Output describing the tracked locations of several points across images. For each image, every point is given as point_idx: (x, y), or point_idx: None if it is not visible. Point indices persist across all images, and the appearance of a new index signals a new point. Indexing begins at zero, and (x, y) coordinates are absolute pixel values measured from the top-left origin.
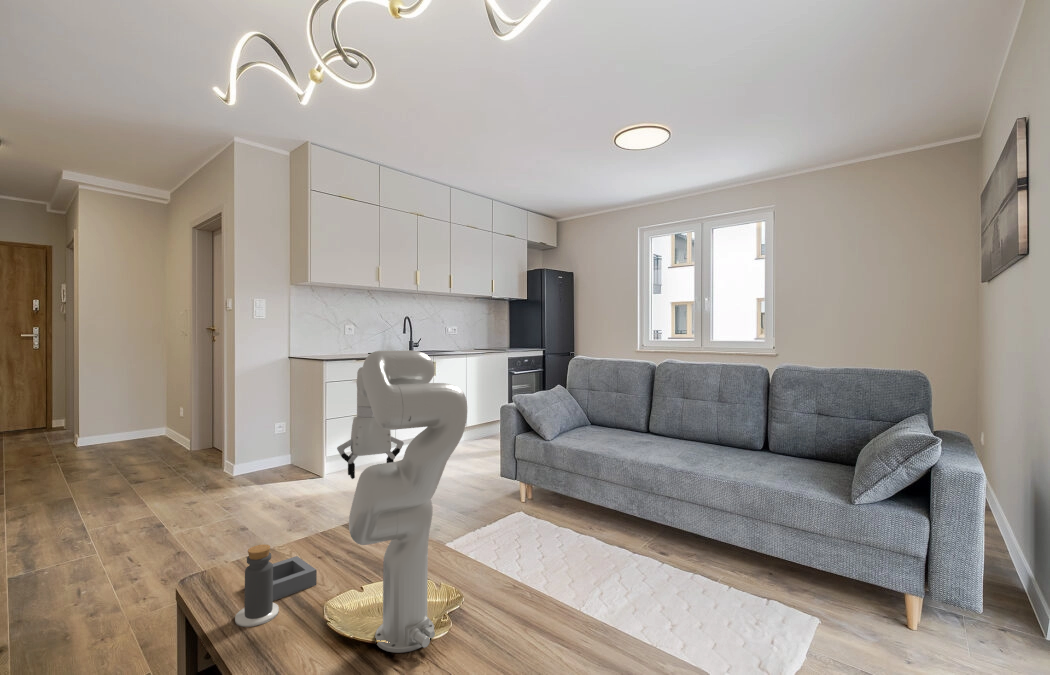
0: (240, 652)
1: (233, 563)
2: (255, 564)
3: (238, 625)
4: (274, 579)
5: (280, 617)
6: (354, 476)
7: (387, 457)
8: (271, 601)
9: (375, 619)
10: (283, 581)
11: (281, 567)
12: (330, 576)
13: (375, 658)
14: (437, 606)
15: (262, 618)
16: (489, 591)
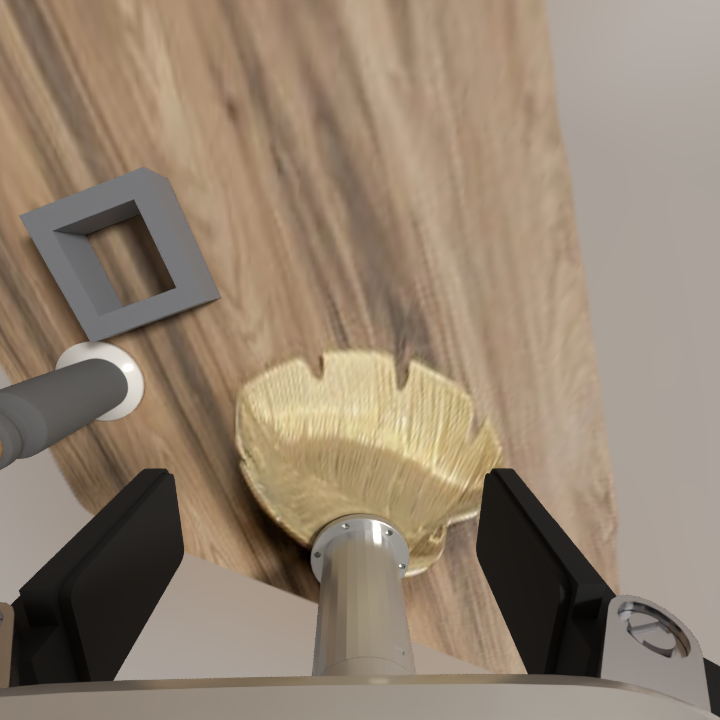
0: (98, 487)
1: None
2: None
3: None
4: (111, 223)
5: (151, 407)
6: (174, 570)
7: (580, 588)
8: (112, 402)
9: (324, 490)
10: (124, 330)
11: (110, 212)
12: (256, 266)
13: (304, 583)
14: (440, 499)
15: (113, 411)
16: (552, 493)
